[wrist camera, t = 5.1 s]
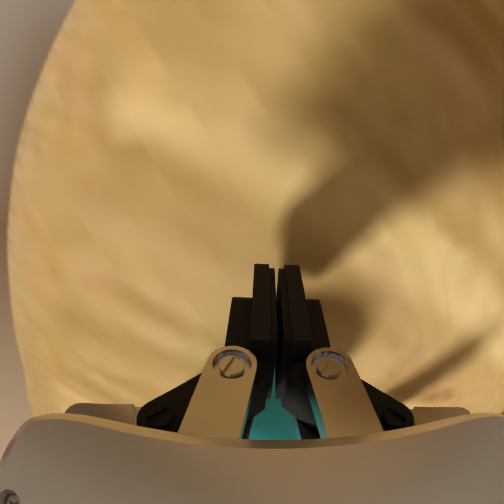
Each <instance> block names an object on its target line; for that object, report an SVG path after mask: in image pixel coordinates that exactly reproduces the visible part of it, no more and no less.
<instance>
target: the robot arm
mask: <svg viewBox="0 0 504 504" xmlns="http://www.w3.org/2000/svg"><path fill="white" fill-rule="evenodd" d="M274 370H275V398H276V399H281V408H284V409H285V410H286V411H288V412H289V413H290V414H292V415H293V425H294V429H295V433H296V437H297V440H251V439H250V435H251V431H252V427H253V422H254V417H255V416H256V415H258V414H259V413H260V412H262V411H263V410H264V409H265V405H266V399H271V394H272V386H273V378H274ZM0 504H504V415H503V414H497V413H472V414H471V413H470V412H469V411H468V410H466V409H465V408H461V407H414V408H413V410H412V409H409V408H408V407H406V406H405V405H404V404H402V403H400V402H399V401H397V400H395V399H393V398H392V397H390V396H388V395H387V394H385V393H383V392H382V391H380V390H378V389H377V388H375V387H373V386H372V385H370V384H368V383H367V382H365V381H363V380H362V379H360V377H359V374H358V372H357V370H356V368H355V366H354V364H353V361H352V360H351V358H350V357H349V356H348V355H347V354H346V353H344V352H343V351H341V350H338V349H335V348H331V347H330V343H329V338H328V334H327V329H326V325H325V321H324V317H323V312H322V308H321V304H320V301H319V300H313V299H306V298H305V293H304V287H303V282H302V277H301V272H300V267H299V265H284V269H279V271H278V283H277V295H276V288H275V269H274V268H269V264H255V265H254V281H253V298H244V297H233V298H232V302H231V309H230V316H229V322H228V329H227V335H226V342H225V347H221V348H219V349H217V350H215V351H214V352H213V353H211V355H210V356H209V358H208V359H207V362H206V364H205V367H204V369H203V371H202V373H201V374H199V375H197V376H196V377H194V378H192V379H190V380H188V381H187V382H185V383H183V384H181V385H180V386H178V387H176V388H174V389H172V390H170V391H169V392H167V393H165V394H163V395H161V396H159V397H157V398H156V399H154V400H152V401H150V402H148V403H147V404H145V405H144V406H142V407H135V406H134V404H93V403H77V404H74V405H72V406H70V407H69V408H68V409H67V410H66V411H65V413H54V414H45V415H39V416H35V417H33V418H30V419H28V420H27V421H26V422H24V423H23V424H22V425H21V426H20V428H19V429H18V430H17V431H16V433H15V434H14V436H13V438H12V440H11V441H10V442H9V444H8V446H7V448H6V450H5V452H4V454H3V456H2V458H1V461H0Z"/></svg>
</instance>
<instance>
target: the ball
mask: <svg viewBox="0 0 504 504" xmlns="http://www.w3.org/2000/svg"><path fill="white" fill-rule="evenodd" d="M250 439H251V440H297V437H296V433H295V429H294V425H293V415H292V414H290V413H289V412H288V411H286V410H285V409H284V408H281V399H276V398H275V370H274V378H273V386H272V394H271V399H266V405H265V409H264V410H263V411H262V412H260V413H259V414H258V415H256V416H255V417H254V422H253V427H252V431H251V435H250Z"/></svg>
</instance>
